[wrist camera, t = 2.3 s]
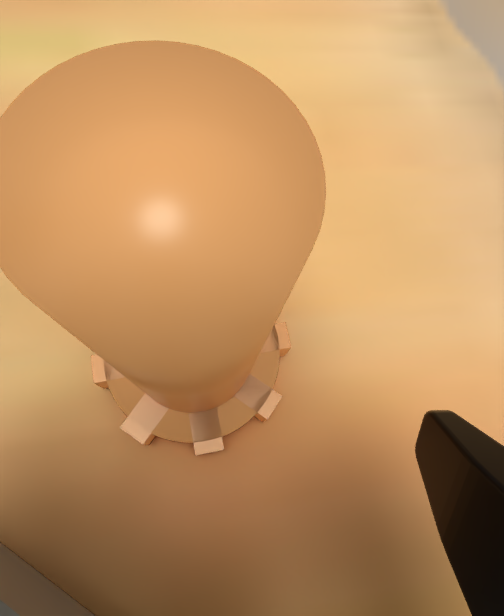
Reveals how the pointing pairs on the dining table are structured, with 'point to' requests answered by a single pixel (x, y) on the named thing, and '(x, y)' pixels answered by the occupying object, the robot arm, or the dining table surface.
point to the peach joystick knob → (163, 227)
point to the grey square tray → (31, 591)
